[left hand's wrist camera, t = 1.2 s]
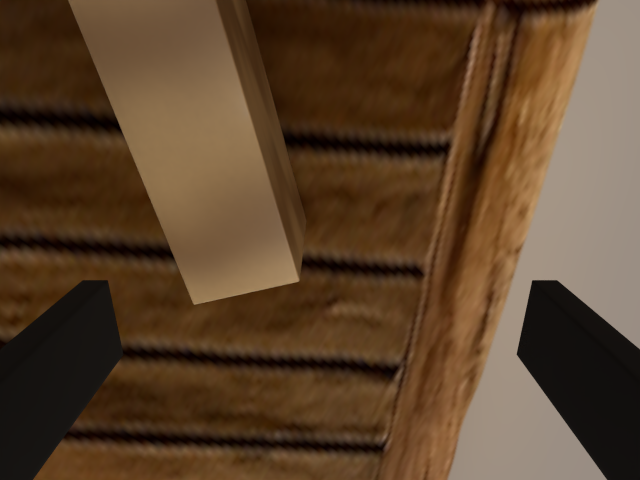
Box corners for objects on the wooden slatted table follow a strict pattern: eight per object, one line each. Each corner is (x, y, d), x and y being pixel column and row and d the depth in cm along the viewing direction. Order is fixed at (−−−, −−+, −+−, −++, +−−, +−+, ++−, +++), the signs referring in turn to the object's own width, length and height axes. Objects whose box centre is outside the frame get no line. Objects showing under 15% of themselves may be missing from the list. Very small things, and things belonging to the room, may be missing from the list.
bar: (306, 221, 28) (299, 281, 19) (231, 238, 28) (193, 305, 20) (188, -211, 20) (89, -427, 11) (86, -176, 20) (-81, -357, 12)
